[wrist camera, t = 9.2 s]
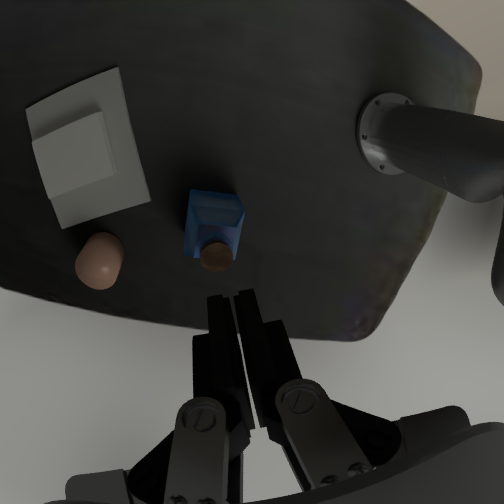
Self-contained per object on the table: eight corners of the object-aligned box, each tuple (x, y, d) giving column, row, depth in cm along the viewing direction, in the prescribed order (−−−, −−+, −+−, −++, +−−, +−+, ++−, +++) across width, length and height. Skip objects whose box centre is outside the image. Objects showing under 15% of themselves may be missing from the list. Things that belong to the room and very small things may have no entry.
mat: (118, 67, 27) (117, 67, 27) (151, 199, 36) (150, 201, 35) (27, 109, 26) (25, 109, 25) (63, 227, 35) (62, 229, 34)
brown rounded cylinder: (125, 234, 37) (117, 253, 33) (124, 271, 40) (117, 292, 36) (85, 229, 36) (73, 247, 31) (87, 265, 38) (77, 285, 34)
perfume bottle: (184, 232, 39) (182, 282, 29) (190, 188, 36) (188, 224, 26) (229, 237, 41) (242, 287, 30) (237, 194, 38) (254, 232, 28)
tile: (97, 112, 27) (31, 142, 26) (114, 174, 31) (48, 199, 30) (102, 111, 29) (38, 140, 28) (118, 171, 33) (55, 194, 32)
